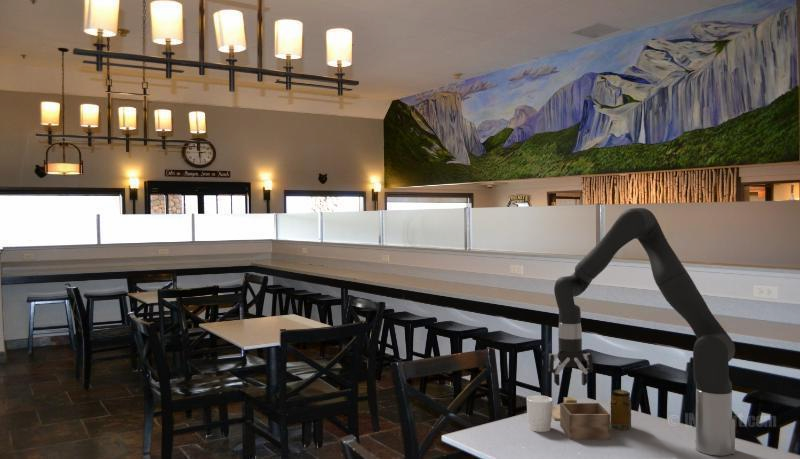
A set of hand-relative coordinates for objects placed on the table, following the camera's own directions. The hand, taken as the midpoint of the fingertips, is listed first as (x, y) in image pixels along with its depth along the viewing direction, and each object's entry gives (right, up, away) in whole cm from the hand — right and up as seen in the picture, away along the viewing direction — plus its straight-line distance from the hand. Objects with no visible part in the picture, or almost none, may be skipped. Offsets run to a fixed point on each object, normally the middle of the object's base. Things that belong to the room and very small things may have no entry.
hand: (570, 385), depth 216 cm
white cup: (-13, -11, -13) cm, 22 cm away
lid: (0, -10, 0) cm, 10 cm away
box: (0, -11, -18) cm, 21 cm away
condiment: (+13, -11, -14) cm, 22 cm away
